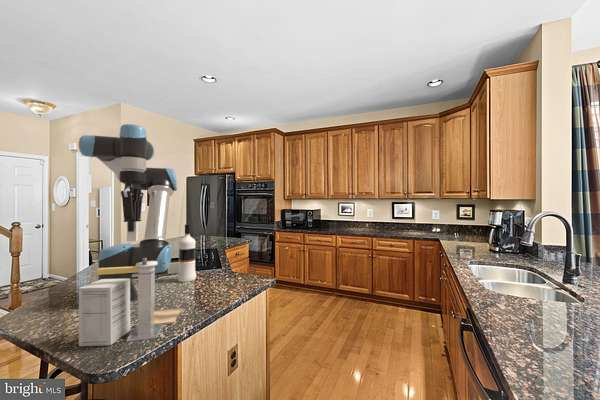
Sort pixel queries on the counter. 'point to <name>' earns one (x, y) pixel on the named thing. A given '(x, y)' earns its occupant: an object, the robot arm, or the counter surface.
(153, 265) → the handwheel arm
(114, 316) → the supplement box
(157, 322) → the trivet
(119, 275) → the robot arm
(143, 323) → the post
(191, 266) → the vodka
